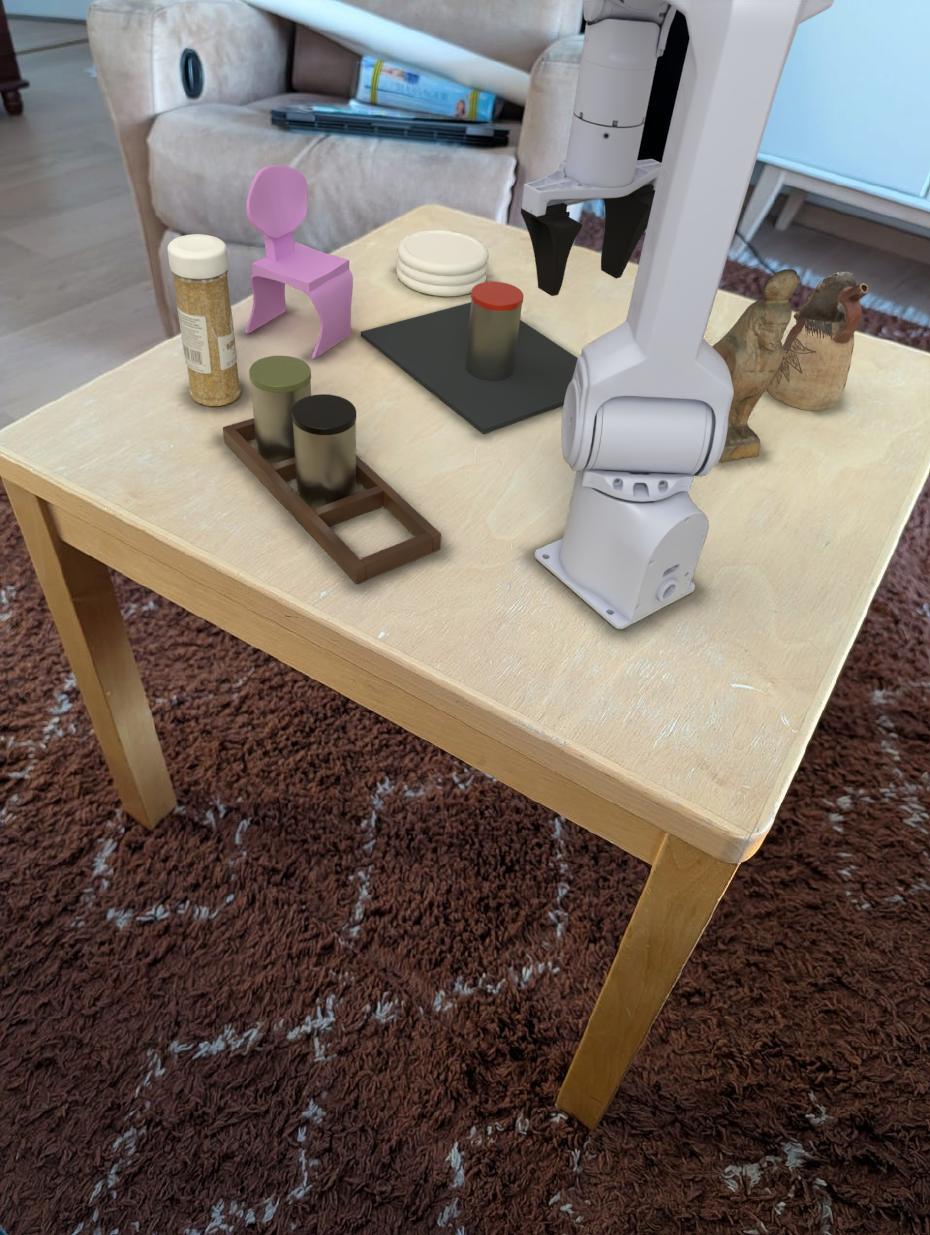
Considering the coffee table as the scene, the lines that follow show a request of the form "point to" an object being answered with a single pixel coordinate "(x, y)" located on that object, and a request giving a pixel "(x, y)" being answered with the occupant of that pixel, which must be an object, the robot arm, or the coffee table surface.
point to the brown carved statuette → (755, 359)
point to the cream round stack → (441, 262)
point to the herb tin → (277, 403)
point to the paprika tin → (493, 330)
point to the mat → (439, 365)
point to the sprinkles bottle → (205, 317)
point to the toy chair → (294, 259)
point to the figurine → (820, 345)
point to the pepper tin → (324, 448)
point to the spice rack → (339, 509)
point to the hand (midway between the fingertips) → (580, 282)
